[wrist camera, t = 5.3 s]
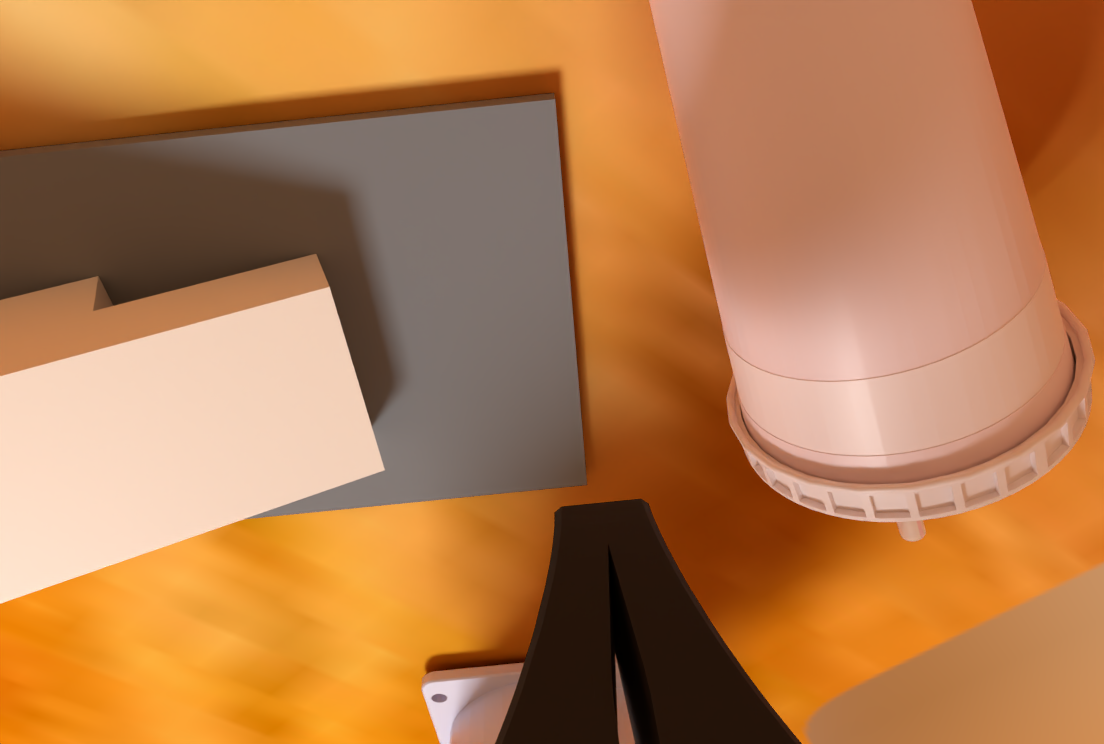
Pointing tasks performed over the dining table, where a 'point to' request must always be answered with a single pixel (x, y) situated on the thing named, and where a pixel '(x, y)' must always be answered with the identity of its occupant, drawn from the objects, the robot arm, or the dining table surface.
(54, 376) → the domino
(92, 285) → the domino
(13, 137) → the dining table surface
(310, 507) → the runner mat
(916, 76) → the smoothie
